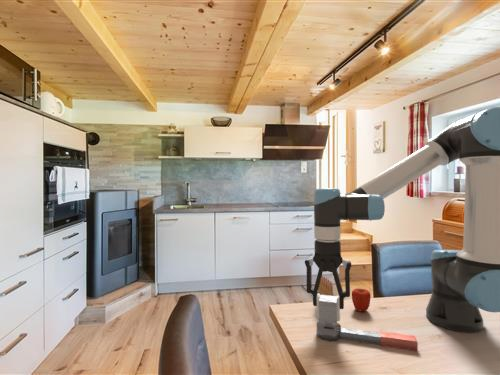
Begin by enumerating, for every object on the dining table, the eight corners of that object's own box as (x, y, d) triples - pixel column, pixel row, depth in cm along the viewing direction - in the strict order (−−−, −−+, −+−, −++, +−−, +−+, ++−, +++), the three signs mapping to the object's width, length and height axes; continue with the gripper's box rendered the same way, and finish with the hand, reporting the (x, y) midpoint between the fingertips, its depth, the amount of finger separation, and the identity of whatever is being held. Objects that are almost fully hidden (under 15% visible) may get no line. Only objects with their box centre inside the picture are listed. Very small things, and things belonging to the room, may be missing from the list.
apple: (358, 315, 98) (358, 293, 98) (348, 307, 104) (348, 287, 104) (374, 313, 99) (374, 291, 99) (363, 306, 105) (363, 285, 105)
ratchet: (413, 341, 81) (413, 318, 81) (419, 355, 74) (419, 330, 74) (317, 328, 89) (317, 307, 89) (315, 339, 83) (315, 317, 83)
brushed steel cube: (337, 316, 86) (337, 296, 86) (336, 323, 82) (336, 302, 82) (320, 313, 88) (320, 294, 88) (319, 321, 83) (318, 300, 83)
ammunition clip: (335, 317, 96) (334, 282, 96) (330, 317, 96) (329, 282, 96) (321, 304, 107) (321, 272, 107) (317, 305, 107) (316, 273, 107)
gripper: (359, 239, 86) (360, 316, 85) (299, 236, 91) (299, 309, 91) (360, 243, 78) (361, 328, 78) (295, 240, 84) (296, 319, 84)
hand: (328, 317), depth 85 cm, fingers closed on brushed steel cube, 5 cm apart
